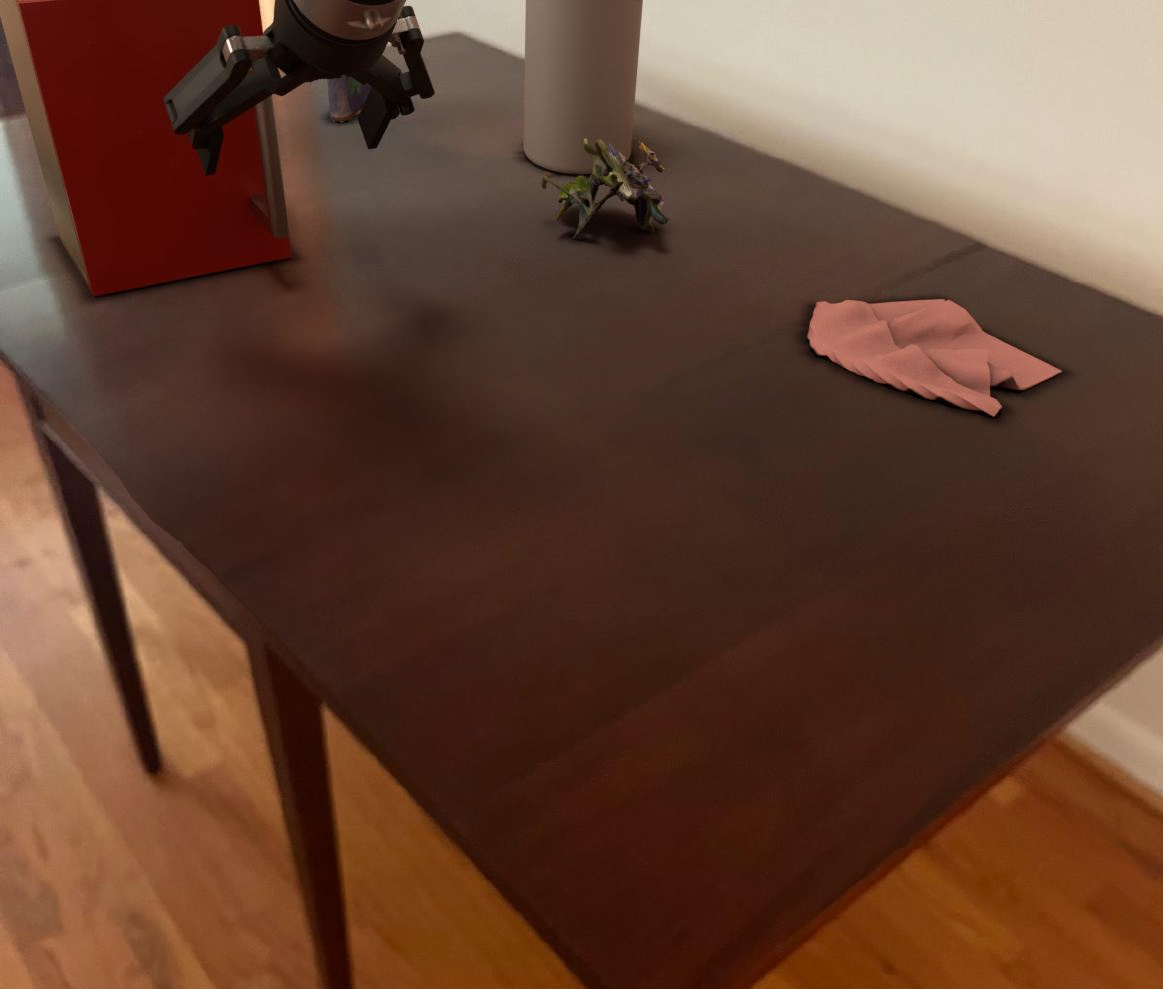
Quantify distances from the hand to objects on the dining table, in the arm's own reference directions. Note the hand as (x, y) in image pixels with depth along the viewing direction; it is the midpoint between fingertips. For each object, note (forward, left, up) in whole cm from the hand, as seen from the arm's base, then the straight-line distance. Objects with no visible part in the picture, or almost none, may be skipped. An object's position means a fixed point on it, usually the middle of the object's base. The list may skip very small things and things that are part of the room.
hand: (288, 145), depth 91 cm
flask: (+23, +46, -15) cm, 54 cm away
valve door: (-7, +8, -15) cm, 18 cm away
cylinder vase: (+41, +22, -15) cm, 49 cm away
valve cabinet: (-7, +18, -15) cm, 24 cm away
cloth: (+46, -31, -15) cm, 58 cm away
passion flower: (+33, +3, -15) cm, 37 cm away
